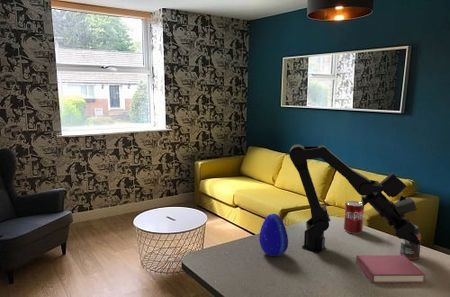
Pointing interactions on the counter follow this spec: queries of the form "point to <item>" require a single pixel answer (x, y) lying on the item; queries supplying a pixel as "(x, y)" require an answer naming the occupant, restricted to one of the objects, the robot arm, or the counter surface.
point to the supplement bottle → (411, 247)
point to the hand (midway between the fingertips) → (414, 238)
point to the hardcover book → (389, 269)
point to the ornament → (273, 236)
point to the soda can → (353, 217)
